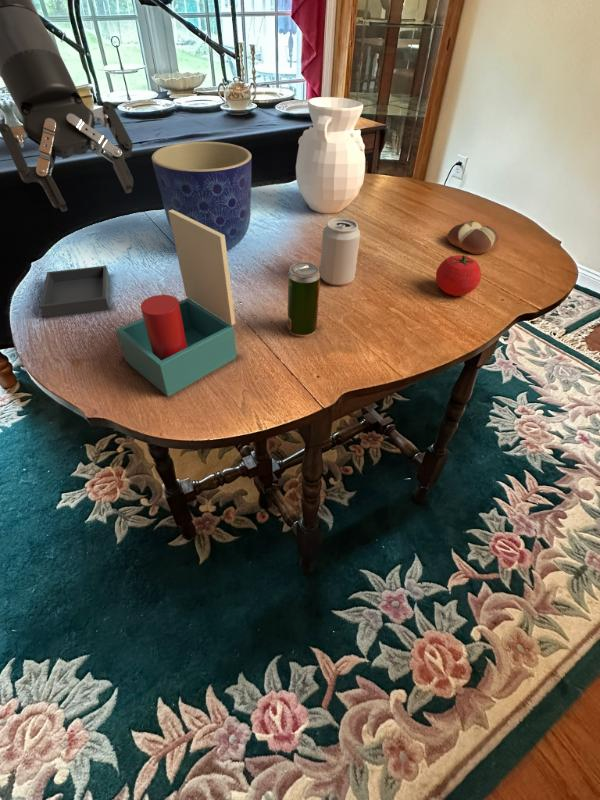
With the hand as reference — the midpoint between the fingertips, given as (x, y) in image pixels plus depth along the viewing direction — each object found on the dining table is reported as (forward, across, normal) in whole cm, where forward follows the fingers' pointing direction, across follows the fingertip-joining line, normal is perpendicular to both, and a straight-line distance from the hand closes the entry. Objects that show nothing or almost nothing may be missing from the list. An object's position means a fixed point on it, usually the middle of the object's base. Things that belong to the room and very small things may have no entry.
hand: (97, 199), depth 56 cm
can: (+22, +41, +20) cm, 50 cm away
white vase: (+2, +64, +48) cm, 80 cm away
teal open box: (+23, +2, +11) cm, 26 cm away
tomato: (+34, +59, +8) cm, 68 cm away
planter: (+2, +26, +42) cm, 49 cm away
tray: (+4, -7, +33) cm, 34 cm away
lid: (+12, +10, +4) cm, 16 cm away
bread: (+27, +80, +20) cm, 87 cm away
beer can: (+27, +24, +10) cm, 38 cm away
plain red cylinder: (+24, 0, +8) cm, 26 cm away
